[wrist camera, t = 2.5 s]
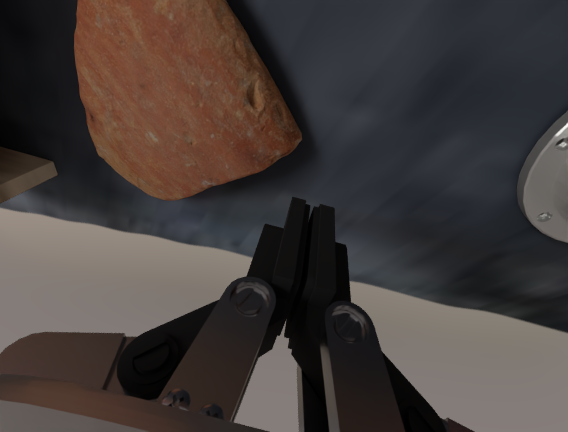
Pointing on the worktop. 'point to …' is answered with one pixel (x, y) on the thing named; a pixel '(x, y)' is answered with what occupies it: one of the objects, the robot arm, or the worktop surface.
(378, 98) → the worktop surface
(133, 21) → the ceramic shard
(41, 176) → the overhang bay
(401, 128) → the worktop surface
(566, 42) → the worktop surface
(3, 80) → the worktop surface
